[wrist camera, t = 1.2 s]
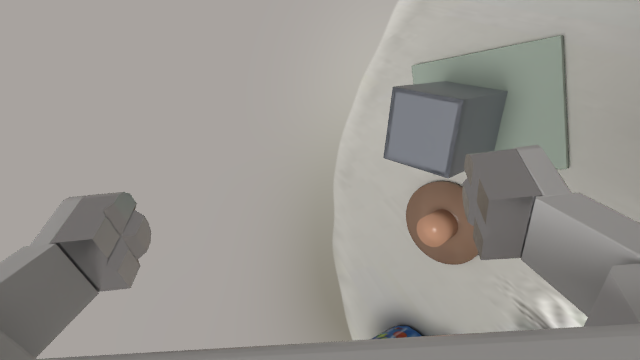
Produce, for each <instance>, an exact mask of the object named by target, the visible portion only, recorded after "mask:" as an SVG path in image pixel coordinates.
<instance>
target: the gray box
mask: <svg viewBox="0 0 640 360" xmlns="http://www.w3.org/2000/svg"><path fill="white" fill-rule="evenodd" d="M507 93H508V91H503V90H497V89H491V88H484V87H478V86H472V85H465V84H459V83H453V82H447V81H441V82H432V83H423V84H414V85H405V86H396V87H393V90H392V98H391V105H390V113H389V120H388V128H387V135H386V143H385V151H384V158H385V159H388V160H392V161H395V162H398V163H401V164H404V165H408V166H411V167H414V168H417V169H420V170H424V171H427V172H430V173H433V174H436V175H439V176H443V177H446V178H450V177H452V176H454V175H457V174H459V173H461V172H463V171H465V170H464V163H465V157H466V154H471V153H480V152H488V151H494V149H495V145H496V141H497V136H498V132H499V128H500V123H501V119H502V115H503V110H504V106H505V102H506V97H507Z"/></svg>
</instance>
